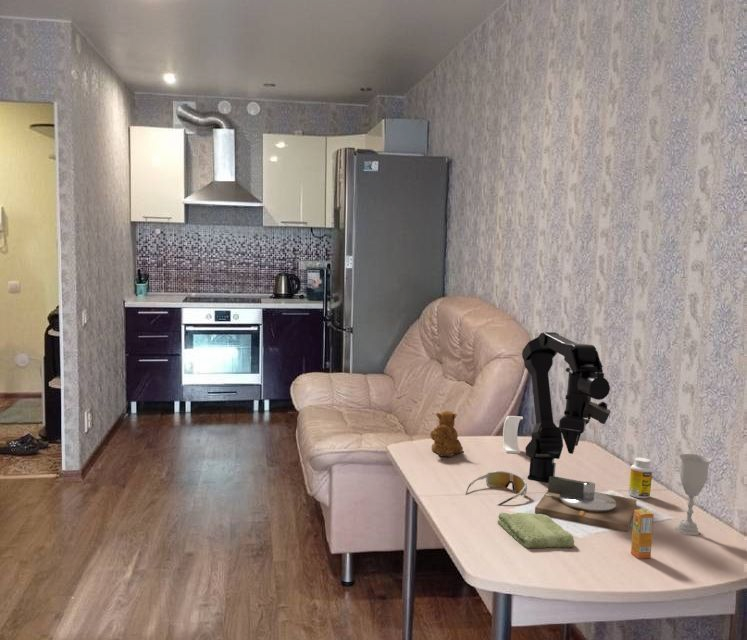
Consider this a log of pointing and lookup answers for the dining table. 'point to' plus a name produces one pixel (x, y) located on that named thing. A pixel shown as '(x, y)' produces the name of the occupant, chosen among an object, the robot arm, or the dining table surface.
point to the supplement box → (642, 534)
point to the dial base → (610, 519)
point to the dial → (580, 495)
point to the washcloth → (535, 530)
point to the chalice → (692, 486)
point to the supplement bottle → (640, 478)
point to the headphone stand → (511, 434)
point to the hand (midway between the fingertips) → (573, 449)
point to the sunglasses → (504, 482)
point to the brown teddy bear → (446, 435)
